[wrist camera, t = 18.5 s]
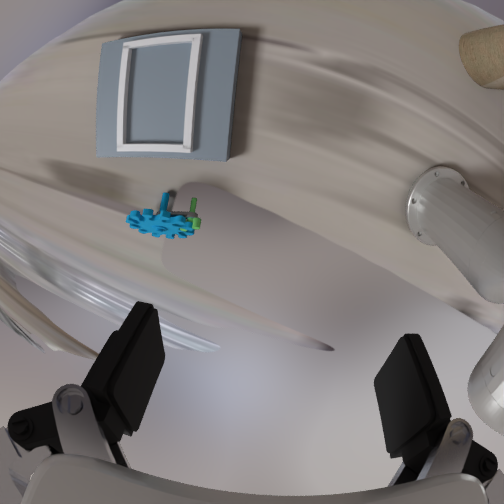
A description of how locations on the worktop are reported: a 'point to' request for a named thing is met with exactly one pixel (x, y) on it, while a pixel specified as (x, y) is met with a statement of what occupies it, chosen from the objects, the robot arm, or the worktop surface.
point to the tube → (484, 56)
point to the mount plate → (168, 95)
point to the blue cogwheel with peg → (165, 220)
